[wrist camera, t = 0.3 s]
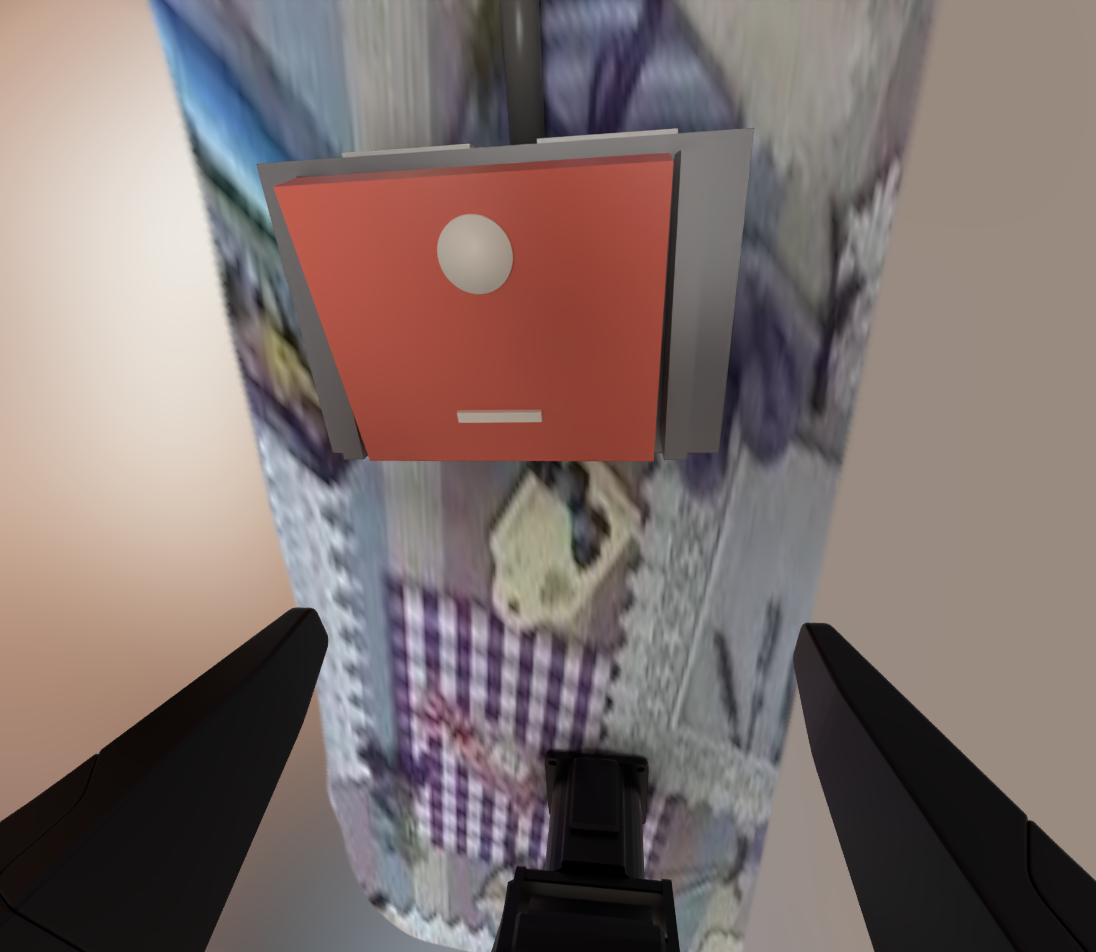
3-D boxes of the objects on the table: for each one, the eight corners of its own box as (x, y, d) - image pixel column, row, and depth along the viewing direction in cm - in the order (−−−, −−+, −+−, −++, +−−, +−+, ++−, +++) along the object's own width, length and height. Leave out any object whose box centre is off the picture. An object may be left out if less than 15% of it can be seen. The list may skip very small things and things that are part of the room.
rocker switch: (651, 439, 15) (653, 464, 14) (381, 440, 16) (368, 463, 15) (669, 152, 11) (674, 161, 10) (296, 177, 11) (270, 188, 11)
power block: (688, 380, 22) (727, 473, 14) (408, 384, 23) (312, 471, 16) (732, -201, 14) (859, -628, 7) (313, -140, 16) (48, -437, 8)
